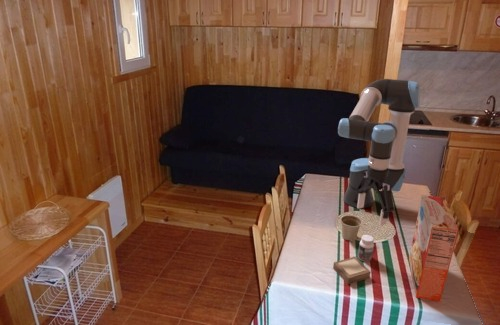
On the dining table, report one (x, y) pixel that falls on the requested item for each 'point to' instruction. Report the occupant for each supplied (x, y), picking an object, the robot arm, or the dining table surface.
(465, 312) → the dining table surface
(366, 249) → the pill bottle
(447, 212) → the pasta box
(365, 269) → the base block
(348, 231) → the flower pot
